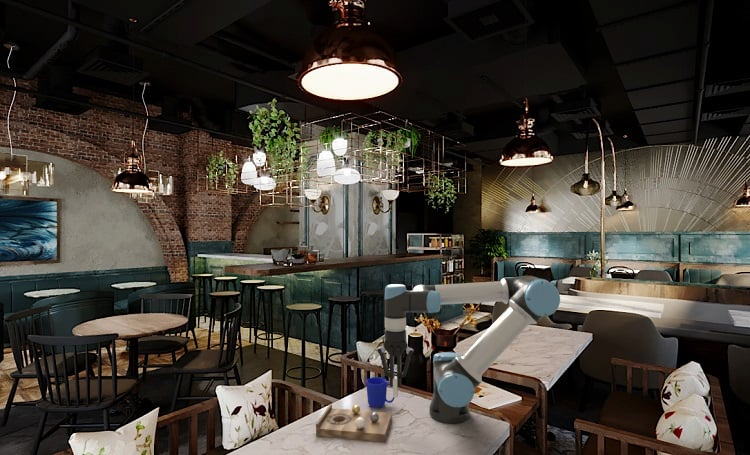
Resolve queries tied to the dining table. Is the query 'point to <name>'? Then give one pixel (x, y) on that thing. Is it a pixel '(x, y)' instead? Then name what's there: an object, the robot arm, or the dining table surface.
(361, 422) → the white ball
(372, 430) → the deck
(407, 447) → the dining table surface
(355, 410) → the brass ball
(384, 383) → the mug
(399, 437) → the dining table surface
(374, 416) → the steel ball
